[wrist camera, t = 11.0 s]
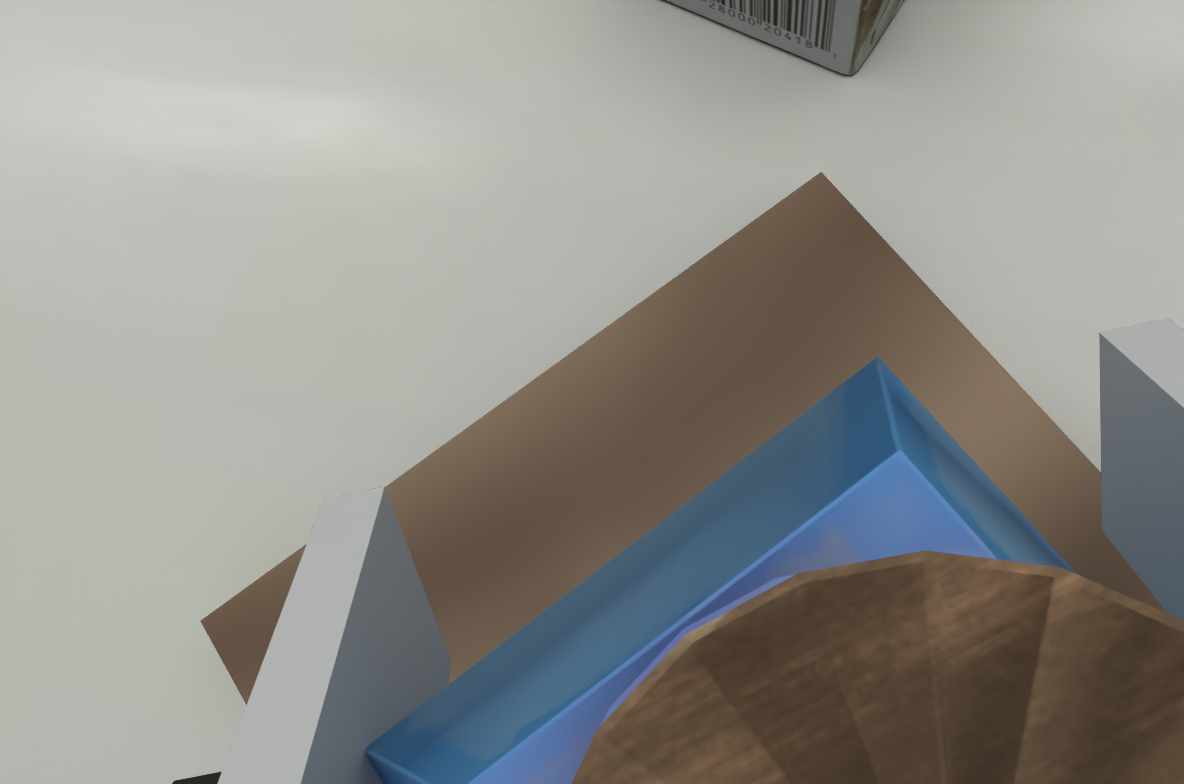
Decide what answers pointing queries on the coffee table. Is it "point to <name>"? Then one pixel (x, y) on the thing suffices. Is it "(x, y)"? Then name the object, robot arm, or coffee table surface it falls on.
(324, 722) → the robot arm
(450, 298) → the coffee table surface
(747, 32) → the coffee box
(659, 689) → the perfume bottle
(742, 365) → the walnut board
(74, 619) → the coffee table surface
